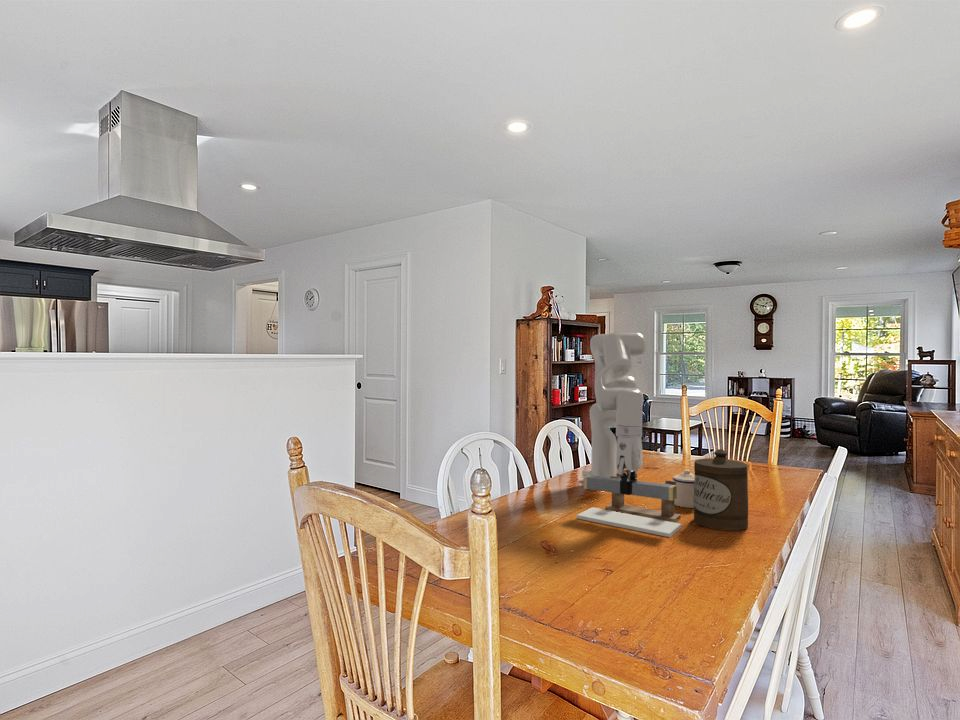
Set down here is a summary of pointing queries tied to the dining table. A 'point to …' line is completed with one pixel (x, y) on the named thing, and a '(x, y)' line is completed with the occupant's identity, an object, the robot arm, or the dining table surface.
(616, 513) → the mat
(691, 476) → the teacup with lid
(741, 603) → the dining table surface
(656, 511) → the rack
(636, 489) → the rail
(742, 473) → the wooden container
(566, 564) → the dining table surface
